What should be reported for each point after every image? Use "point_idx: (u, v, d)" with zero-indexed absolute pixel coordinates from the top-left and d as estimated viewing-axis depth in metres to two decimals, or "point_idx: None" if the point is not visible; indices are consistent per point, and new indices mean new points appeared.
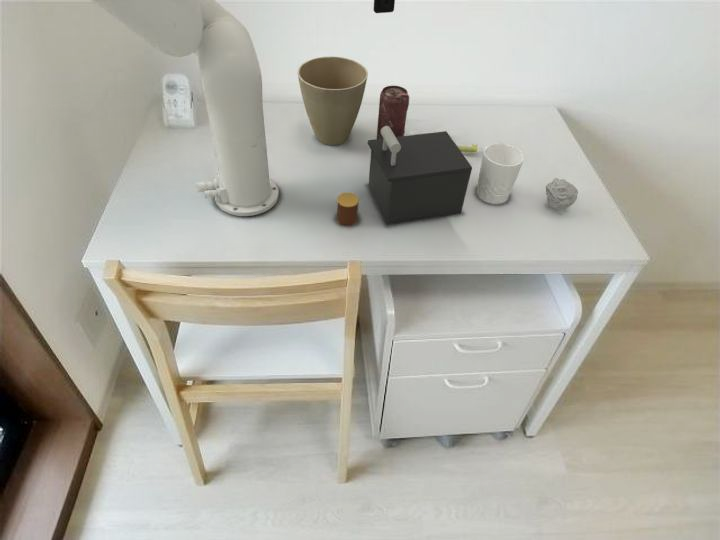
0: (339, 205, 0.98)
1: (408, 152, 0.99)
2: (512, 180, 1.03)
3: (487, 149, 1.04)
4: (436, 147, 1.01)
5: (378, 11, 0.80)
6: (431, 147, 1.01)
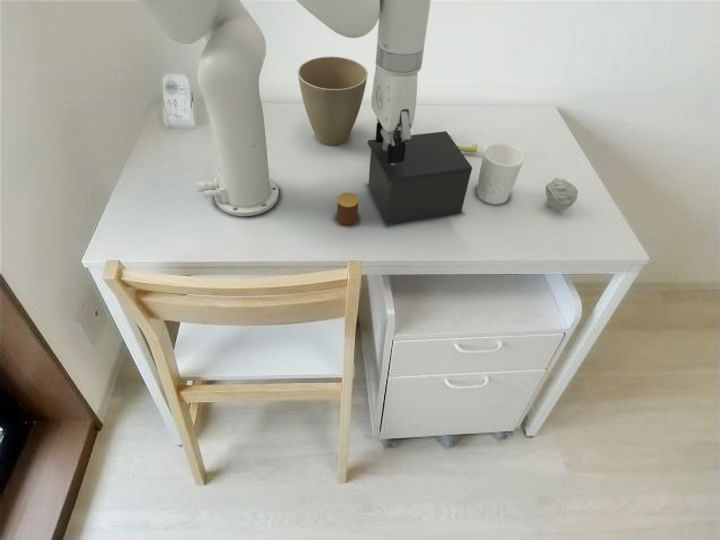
0: (339, 205, 0.98)
1: (408, 152, 0.99)
2: (512, 180, 1.03)
3: (487, 149, 1.04)
4: (436, 147, 1.01)
5: (390, 162, 0.94)
6: (431, 147, 1.01)
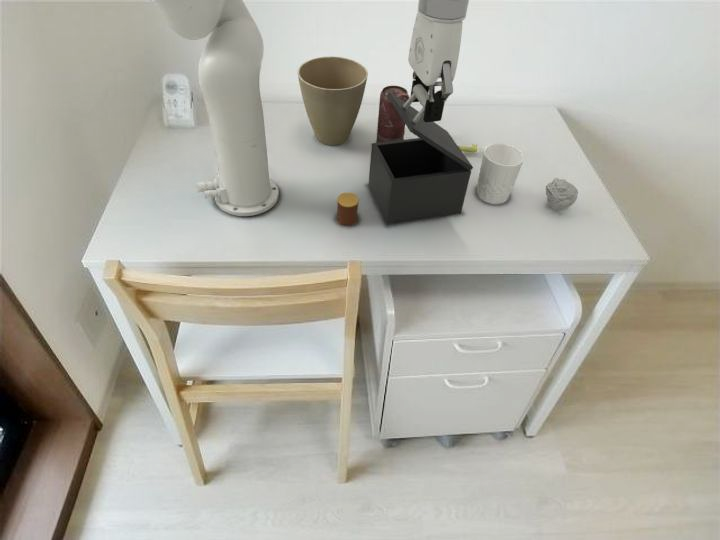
0: (339, 205, 0.98)
1: (423, 123, 0.95)
2: (512, 180, 1.03)
3: (487, 149, 1.04)
4: (443, 135, 0.99)
5: (427, 120, 0.90)
6: (440, 133, 0.99)
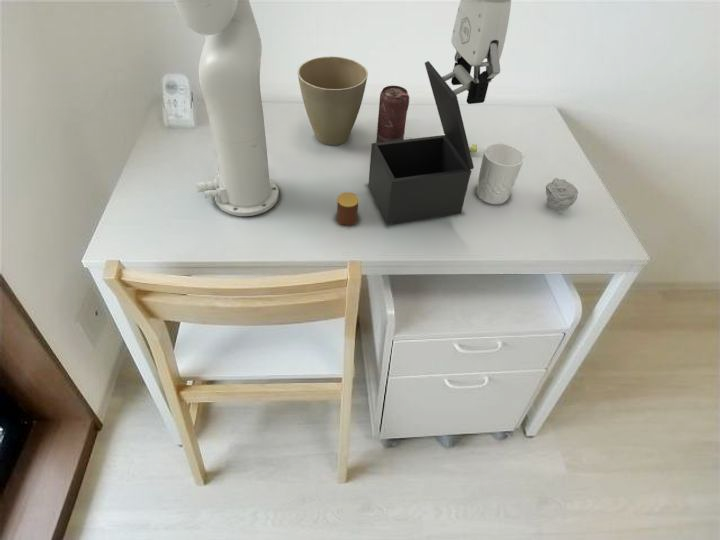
0: (339, 205, 0.98)
1: None
2: (512, 180, 1.03)
3: (487, 149, 1.04)
4: None
5: (471, 102, 0.89)
6: None
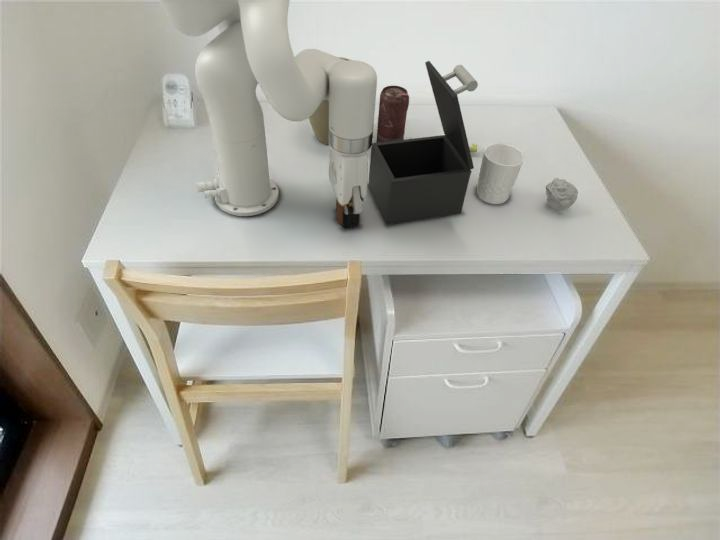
0: (339, 205, 0.98)
1: None
2: (512, 180, 1.03)
3: (487, 149, 1.04)
4: None
5: (346, 227, 1.00)
6: None
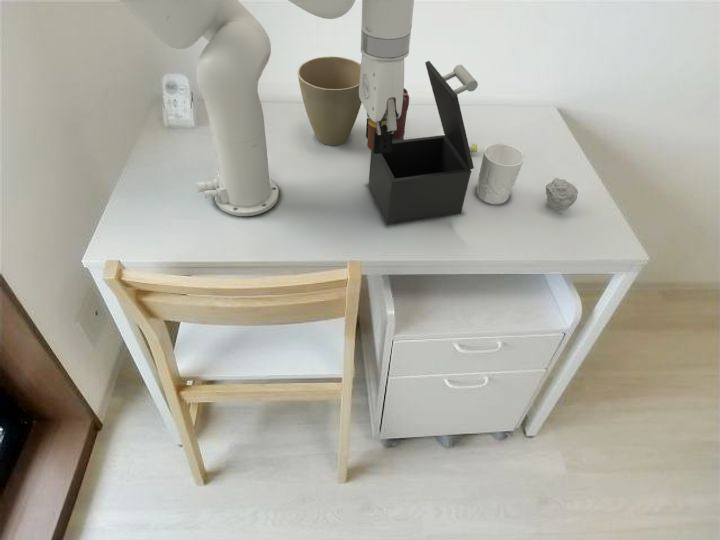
0: (370, 127, 0.89)
1: None
2: (512, 180, 1.03)
3: (487, 149, 1.04)
4: None
5: (377, 152, 0.91)
6: None
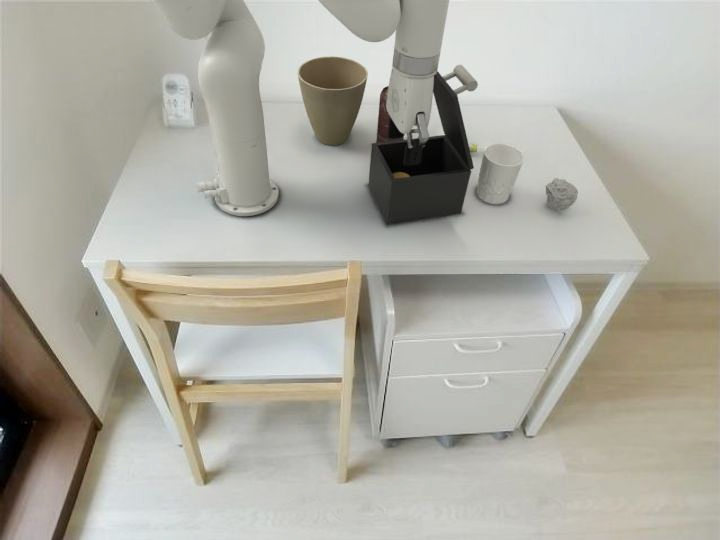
0: None
1: None
2: (512, 180, 1.03)
3: (487, 149, 1.04)
4: None
5: (407, 164, 0.94)
6: None
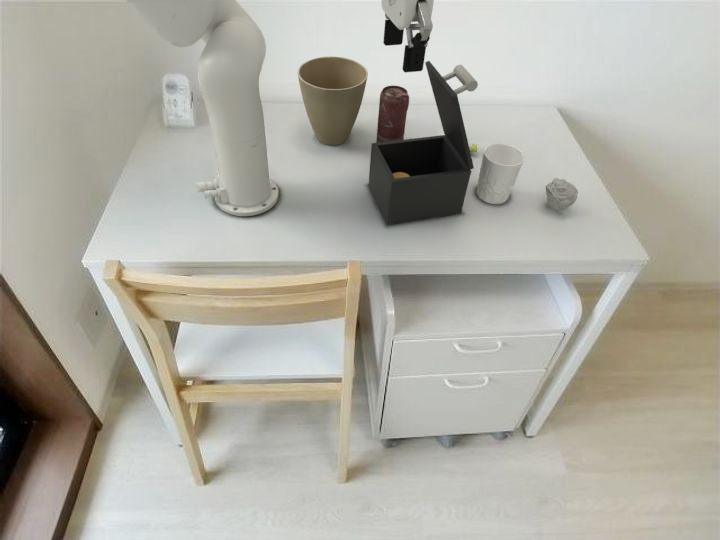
0: None
1: None
2: (512, 180, 1.03)
3: (487, 149, 1.04)
4: None
5: (407, 70, 0.80)
6: None
